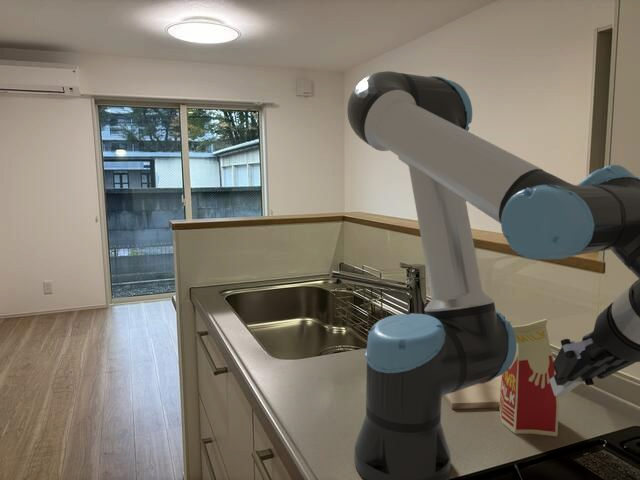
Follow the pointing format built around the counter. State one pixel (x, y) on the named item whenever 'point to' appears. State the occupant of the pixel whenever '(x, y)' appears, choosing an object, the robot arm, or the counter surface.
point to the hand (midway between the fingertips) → (556, 387)
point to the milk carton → (530, 384)
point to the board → (476, 396)
